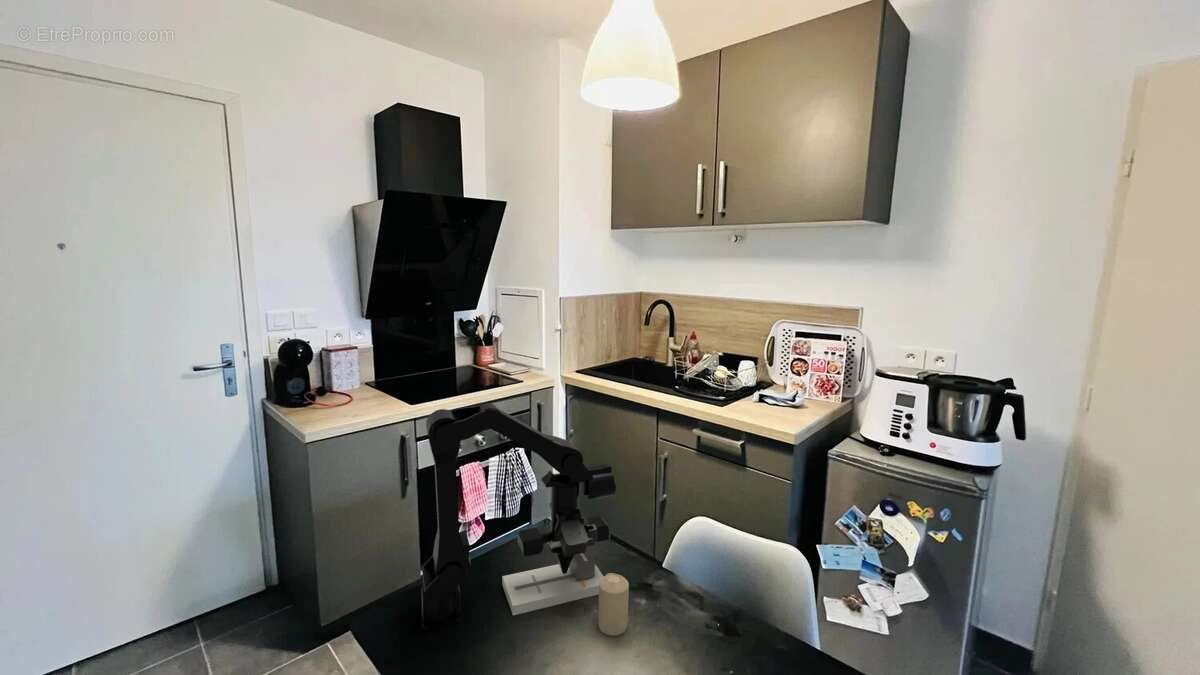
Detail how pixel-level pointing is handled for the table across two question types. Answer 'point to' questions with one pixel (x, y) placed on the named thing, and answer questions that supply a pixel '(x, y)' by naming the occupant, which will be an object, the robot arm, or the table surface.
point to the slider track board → (546, 588)
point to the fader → (583, 565)
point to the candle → (613, 604)
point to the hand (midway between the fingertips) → (564, 572)
